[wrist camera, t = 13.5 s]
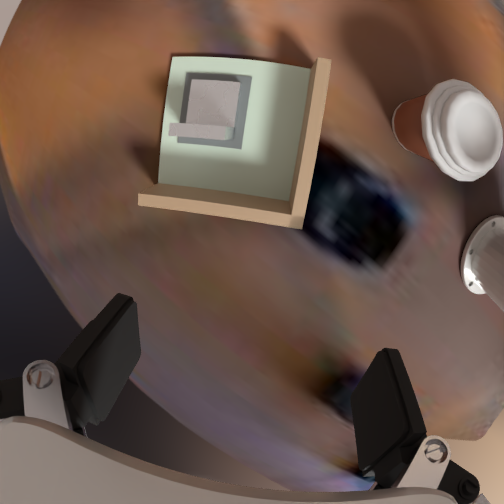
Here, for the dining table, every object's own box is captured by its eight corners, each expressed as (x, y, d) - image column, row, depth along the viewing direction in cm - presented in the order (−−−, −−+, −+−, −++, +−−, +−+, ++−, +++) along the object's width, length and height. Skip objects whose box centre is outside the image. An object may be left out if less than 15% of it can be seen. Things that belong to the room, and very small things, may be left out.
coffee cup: (435, 86, 24) (498, 77, 13) (451, 157, 27) (515, 177, 16) (371, 94, 25) (422, 79, 14) (391, 171, 29) (446, 196, 18)
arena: (320, 72, 25) (331, 60, 20) (296, 211, 32) (301, 229, 26) (175, 58, 25) (154, 45, 20) (160, 191, 32) (138, 205, 26)
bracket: (234, 138, 28) (224, 140, 22) (187, 134, 28) (168, 135, 22) (241, 84, 25) (233, 72, 20) (194, 81, 25) (176, 70, 20)
